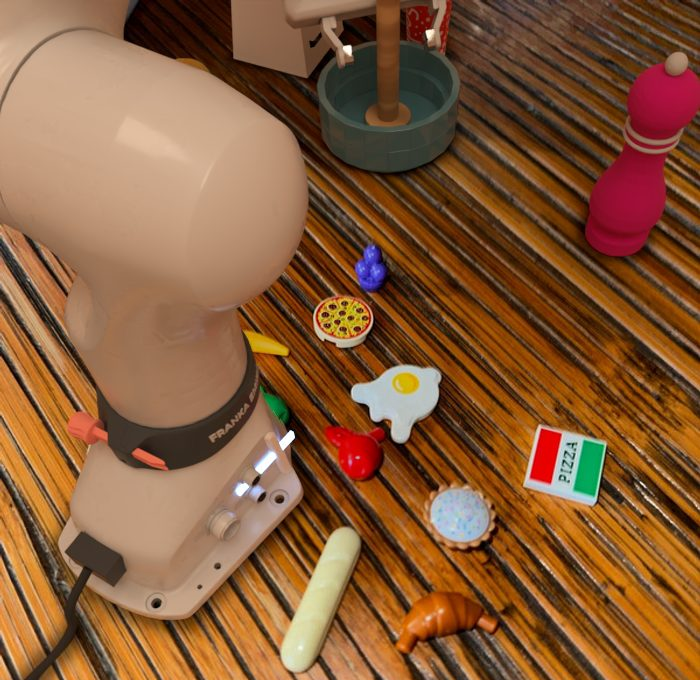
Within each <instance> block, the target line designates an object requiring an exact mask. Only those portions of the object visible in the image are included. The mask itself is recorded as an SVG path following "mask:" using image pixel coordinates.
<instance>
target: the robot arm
mask: <svg viewBox="0 0 700 680" xmlns="http://www.w3.org/2000/svg"><path fill="white" fill-rule="evenodd" d="M281 1H282V8H283V15H284V20H285V22H286V23H287V24H288V25H289V26H290V27H292V28H293V29H299V28H305V27H310V26H315V25H320V28H321V32H320V33H321V38H322V37H323V38H324V39H325V41H326V42H327V43H328V44H329V46H330V49H331V50H332V51H333V52H335V56H336V57H337V62H338V67H339V69H342V68H347V67H352V66H353V65H354V58H353V56H352V55H351V54H352V47H353V46H352V44H348V45H344V44H343V43H342V41H341V40H340V39H339V37H337V36H336V35H335V33H334V32H335V30H336V27H337V25H336V21H342V22H343V21H347V20H352V19H357V18H362V17H368V16H373V15H376V0H281ZM446 1H447V0H400V10H404V9H405V10H406V8H410V7H415V6H420V5H426V4H427V5H428V11H429V15H433V14H434V18H433V21H432V24H431V28H430V30H426V31H425V32H424V33H423V34H422V40H423V43H424V51H425V52H429V51H435V50H438V49H439V48H440V47H441V39H440V32H439V28H440V26H441V23H442V20H443V17H444V14H445V11H446V8H447V7H446ZM130 3H131V0H0V224H2V225H5V226H7V227H8V228H11V229H13V230H15V231H17V232H19V233H21V234H23V235H25V236H26V237H28V238H29V239H30V240H32V241H33V242H35V243H37V244H39V245H41V246H42V247H44V248H46V249H47V250H48V251H50V252H51V253H52V254H54V255H55V256H56V257H57V258H59V259H60V260H61V261H63V263H65V264H66V265H67V266H68V267H69V268H70V269H71V270H72V271H73V272H74V273H75V274H76V275H75V277H74V279H73V282H72V283H71V286H70V288H69V291H68V294H67V297H66V300H65V304H64V310H63V312H64V314H63V315H64V316H63V317H64V325H65V329H66V333H67V335H68V338H69V340H70V341H71V343H72V344H73V346H74V348H75V350H76V351H77V353H78V355H79V356H80V358H81V360H82V362H83V364H84V365H85V366H86V368H87V370H88V372H89V373H90V376H91V377H92V378H93V380H94V382H95V394H96V406H97V417H98V418H94V417H93V416H91V415H90V414H89V413H88V412H86V411H83V410H81V411H76V412H74V414H73V415H72V416H71V417H70V419H69V420H68V423H67V427H66V431H67V434H68V435H69V436H71V437H73V438H75V439H79V440H82V441H84V442H85V443H86V445H89V448H88V451H87V455H86V456H85V458H84V462H83V464H82V467H81V469H80V473H79V476H78V478H77V480H76V483H75V486H74V488H73V491H72V494H71V496H70V498H69V514H70V516H69V518H68V520H67V522H66V523H65V526H64V527H63V529H62V531H61V532H60V535H59V537H58V540H57V546H58V549H59V552H60V554H61V556H62V558H63V560H64V562H65V564H66V566H68V568H69V569H70V571H71V572H72V573H73V574H74V576H75V577H76V578H77V579H76V580H75V583H74V585H73V586H72V588H71V590H70V592H69V595H68V597H67V600H66V602H65V606H64V618H65V620H66V623H67V627H66V629H65V631H64V633H63V635H62V636H61V638H60V639H59V641H58V643H57V644H56V645H55V646H54V648H53V649H52V650H51V652H49V654H48V655H47V656H46V657H44V659H43V660H42V661H41V662H40V663H39V664H38V665H37V666H36V667H35V668H34V669H33V670H32V671H31V672H30V673H28V675H27V676H26V677H25V678H24V679H23V680H39V679H40V678H41V677H42V675H44V673H45V672H46V671H47V670H48V669H49V668H50V667H51V666H52V665H53V663H54V662H55V661H56V660H58V658H59V657H60V656H61V655H62V654H63V652H64V651H65V650H66V649H67V648H68V646H69V645H70V644H71V642H72V640H73V639H74V637H75V634H76V632H77V629H78V625H79V621H78V618H77V615H76V607H77V604H78V601H79V599H80V596H81V594H82V593H83V590H84V589H85V586H86V587H88V588H89V589H90V590H91V591H93V592H94V593H96V594H97V595H99V596H101V597H102V598H104V600H105V599H106V600H107V601H108V602H110V603H112V604H114V605H116V606H118V607H120V608H121V609H124V610H126V611H129V612H131V613H133V614H136V615H139V616H141V617H142V616H143V617H146V618H149V619H155V620H164V621H178V620H186V619H189V618H191V617H192V616H193V615H194V614H195V613H197V611H199V609H200V608H201V607H202V606H203V605H204V604H206V602H207V601H208V600H209V599H210V598H211V597H212V596H213V595H214V594H215V592H217V590H218V589H219V588H220V587H221V586H222V585H224V583H225V582H226V581H227V580H228V579H229V578H230V577H231V576H232V574H234V572H235V571H236V570H237V569H238V568H239V567H240V566H241V565H242V564H243V563H244V562H245V561H246V560H247V559H248V558H249V556H250V555H251V554H252V553H253V552H255V550H256V549H257V548H258V547H259V546H260V545H261V544H262V543H263V541H265V540H266V539H267V538H268V536H269V535H271V533H272V532H273V531H274V530H275V529H276V528H277V527H278V526H279V525H280V524H281V522H282V521H283V520H284V519H286V517H287V516H288V515H289V514H290V513H291V512H292V511H293V510H294V509H295V508H296V507H297V506H298V505H299V504H300V502H302V499H303V497H304V488H303V485H302V483H301V481H300V477H299V476H298V474H297V473H296V471H295V469H294V467H293V464H292V449H291V443H292V441H293V440H294V439H295V433H294V431H292V430H289V432H288V430H287V427H286V426H285V423H284V422H283V420H282V418H280V420H279V419H278V418H277V416H276V415H275V413H274V412H273V410H274V409H273V408H272V407H271V406H270V405H269V403H268V401H267V400H266V398H265V396H264V395H263V392H262V390H261V377H260V372H259V365H258V363H257V360H256V358H255V354H254V352H253V348H252V345H251V342H250V339H249V337H248V336H247V334H246V332H245V331H244V330H243V329H242V328H241V322H240V319H239V315H238V310H237V309H238V308H241V307H242V306H244V305H247V304H248V303H249V302H252V301H253V300H255V299H256V298H258V297H259V296H260V295H263V293H265V292H266V291H267V290H268V289H269V288H270V287H271V286H272V285H273V284H274V283H275V282H277V280H278V279H279V278H280V277H281V276H282V275H283V273H284V272H285V271H286V269H287V268H288V266H289V265H290V263H291V261H292V260H293V258H294V256H295V254H296V253H297V250H298V248H299V246H300V243H301V241H302V238H303V234H304V232H305V227H306V223H307V217H308V213H309V183H308V173H307V168H306V162H305V159H304V156H303V153H302V150H301V147H300V144H299V142H298V139H297V138H296V136H295V134H294V133H293V131H292V130H291V129H290V128H289V127H288V126H287V125H286V124H285V122H282V121H281V120H279V119H278V118H277V117H276V116H274V115H273V114H271V113H270V112H268V111H267V110H266V109H264V108H263V107H261V106H260V105H259V104H258V103H256V102H254V101H253V100H251V99H250V98H249V97H247V96H246V95H244V94H243V93H241V92H240V91H238V90H236V89H235V88H234V87H232V86H231V85H229V84H228V83H226V82H224V81H223V80H222V79H220V78H218V77H217V76H216V75H213V74H212V73H211V72H210V73H208V72H205V71H203V70H200V69H198V68H195V67H192V66H190V65H187V64H185V63H182V62H179V61H177V60H175V58H172V57H168V56H166V55H163V54H160V53H158V52H155V51H153V50H151V49H147V48H145V47H143V46H139V45H137V44H134V43H132V42H129V41H127V40H125V38H124V31H125V23H126V17H127V13H128V10H129V6H130ZM270 407H271V408H272V409H273V410H272V409H271V408H270ZM280 421H281V422H280ZM279 499H282V500H283V501H282V502H281V503H278V502H277V501H278V500H279ZM157 602H161V604H160V606H159V607H157V608H155V607H154V606H155V604H156V603H157Z"/></svg>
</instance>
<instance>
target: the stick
mask: <svg viewBox="0 0 700 680" xmlns="http://www.w3.org/2000/svg"><path fill="white" fill-rule="evenodd" d="M375 15H376V18H375V19H376V20H375V21H376V41H377V103H375V104H373V105H372V106H371V107H370V108H369V109H368V110H367V112H366V115H365V120H366V125H370V126H381V127H394V126H402V125H409V124H411V113H410V110H409V109H408V108H407V107H406V106H405V105H404V104H402V103H400V102H399V56H400V40H401V9H400V0H376V14H375Z"/></svg>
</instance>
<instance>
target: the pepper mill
mask: <svg viewBox="0 0 700 680" xmlns="http://www.w3.org/2000/svg"><path fill="white" fill-rule="evenodd" d="M688 66H689V58H688V56H687V54H686V53H685V52H682V51H675V52H673V53H671V54H669V56H667V58H666V60H665V62H661V63H656V64H654V65H652V66H650V67H648V68H646V69H644V71H642V72H641V73H640V74H639V75H638V76H637V77H636V78H635V79H634V81H633V83H632V85H631V87H630V89H629V91H628V94H627V99H626V108H627V114H628V115H627V117H626V119H625V124H624V126H623V128H622V136H623V139H624V145H623V147H622V150H621V152H620V153H619V155H618V157H616V159H615V160H614V161H613V162H612V164H610V166H608V167H607V169H605V171H603V173H602V174H601V175H600V177H599V178H598V179H597V180H596V182H595V184H594V186H593V188H592V190H591V193H590V195H589V198H588V207H589V212H590V213H589V215H588V218H587V221H586V225H585V228H584V235H585V238H586V241H587V242H588V244H589V245H590V246H591V247H592V248H593V249H594V250H596V251H597V252H598V253H601V254H603V255H606V256H610V257H626V256H631V255H634V254H635V253H637V252H639V251H640V250H641V249H642V248H643V247H644V246H645V243H646V241H647V240H648V236H649V234H650V231H651V229H653V227H655V226H656V225H657V223H659V221H660V219H661V218H662V216H663V212H664V210H665V207H666V202H667V185H666V179H665V175H664V167H665V163H666V160H667V158H668V157H667V156H668V155H669V153H670V151H672V150H674V149H675V148H676V147H677V146H678V144H679V143H680V140H681V137H682V135H683V133H684V131H685V130H684V128H685V127H687V126H688V125H689V124H690V123H691V122H692V121H693V120H694V118H695V117H696V115H697V113H698V111H699V109H700V79H699V77H698V76H697V74H696V73H695V72H694V71H693V70H692V69H690V68H688Z"/></svg>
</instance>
